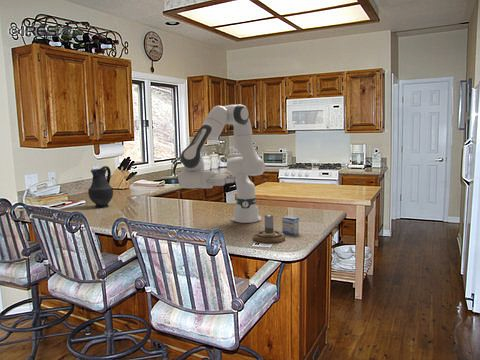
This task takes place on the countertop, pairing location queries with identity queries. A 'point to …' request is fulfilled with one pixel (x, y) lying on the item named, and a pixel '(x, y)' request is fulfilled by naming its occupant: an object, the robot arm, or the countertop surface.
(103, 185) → the pitcher
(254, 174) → the robot arm
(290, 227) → the medicine box
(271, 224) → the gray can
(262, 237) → the ring
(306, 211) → the countertop surface
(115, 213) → the countertop surface
